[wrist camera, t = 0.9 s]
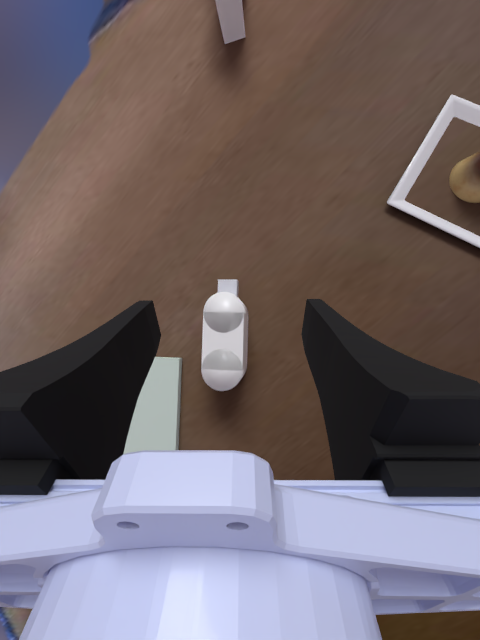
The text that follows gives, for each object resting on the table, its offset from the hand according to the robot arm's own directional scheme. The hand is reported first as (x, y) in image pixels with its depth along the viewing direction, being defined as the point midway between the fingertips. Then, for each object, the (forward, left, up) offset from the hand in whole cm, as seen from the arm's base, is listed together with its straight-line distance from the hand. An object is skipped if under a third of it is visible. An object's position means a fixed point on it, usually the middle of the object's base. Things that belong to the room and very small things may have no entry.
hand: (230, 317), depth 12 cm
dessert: (+14, -21, -15) cm, 29 cm away
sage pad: (-9, +12, -14) cm, 21 cm away
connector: (-1, +2, -14) cm, 14 cm away
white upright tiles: (+37, +4, -15) cm, 40 cm away
